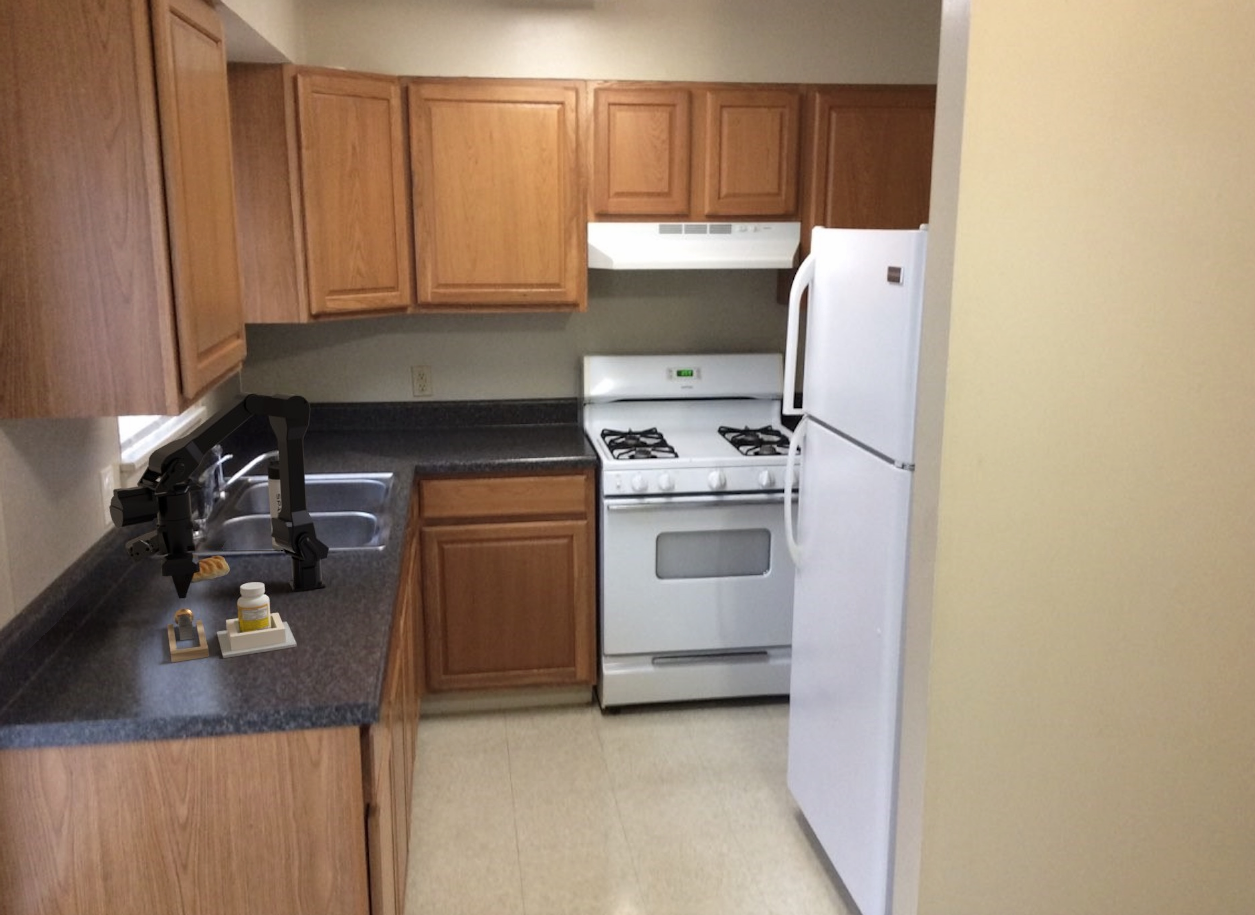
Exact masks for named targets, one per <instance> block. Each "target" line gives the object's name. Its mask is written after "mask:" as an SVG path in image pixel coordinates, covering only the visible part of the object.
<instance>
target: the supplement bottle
mask: <svg viewBox="0 0 1255 915" xmlns="http://www.w3.org/2000/svg"><path fill="white" fill-rule="evenodd" d="M265 589H266V588H265V583H263V582H259V581H256V582H255V581H254V582H253V581H251V582H246V583H244V584H241V585H240V586H239V591H240V592H239V593H240V595H241V596H240V597H239V598H238V599H237V603H236V604H237V618H238V621H239V633H244V632H251V631H257V630H264V629H271V617H270V614H271V607H270V606H271V603H270V597H269V596H268V595H267V594H265V592H266V590H265Z"/></svg>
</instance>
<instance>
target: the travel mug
mask: <svg viewBox="0 0 1255 915" xmlns="http://www.w3.org/2000/svg"><path fill="white" fill-rule="evenodd" d="M266 466H267V480H268V481H267V485H268V499H269V500H268V501H269V512H270V513H269V514H270V516H269V517H270V519H271V518H273V517H278V515H279V513H280V511H281V490H280V472H279V459H276V460H270V461H269V463H267V465H266ZM270 529H271V532H272V530H273V528H272V523H271V522H270ZM271 541H272V542H271V544H272V549H273V550H274V551H277V550H283V549H282V548H281V547H280V546H278V545H277V544H276V542H275V538H274V537H271Z"/></svg>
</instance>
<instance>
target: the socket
mask: <svg viewBox="0 0 1255 915" xmlns="http://www.w3.org/2000/svg"><path fill="white" fill-rule="evenodd" d="M270 617H271V629H264V630H257V631H251V632H244V633H239V621H238V617H236V618H232V619H231V618H230V619H226V620H225V624H226V625H225V628H226V630H225V629H224V630H220V631H216V635H217V640H218V644H219V648H220V652H221V655H222V658H223V659H227V658H234V657H239V656H247V655H252V654H257V653H260V654H261V653H264V652H273V651H277V650H284V649H289V648H296V647H297V646H298V645H297V641H296V640H295V637H294V634H293V632H292V630H291V628H290V625H289V624H288V621H282V619H281V616H280V613H279V612H273V613H271V612H270Z"/></svg>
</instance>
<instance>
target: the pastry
mask: <svg viewBox="0 0 1255 915" xmlns="http://www.w3.org/2000/svg"><path fill="white" fill-rule="evenodd" d="M199 566H200V572H197V573H194V575H193V578H192V581H191V583H195V582H196V583H197V582H201V581H208V580H212V579H216V578H220V577H223V576H226V575H228V574H229V572H230V566H229V564H228V562H227V561H226V559H225V557H224V556H221V555H215V556H214V555H212V556H211V557H208V558H204V559H200V560H199Z"/></svg>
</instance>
